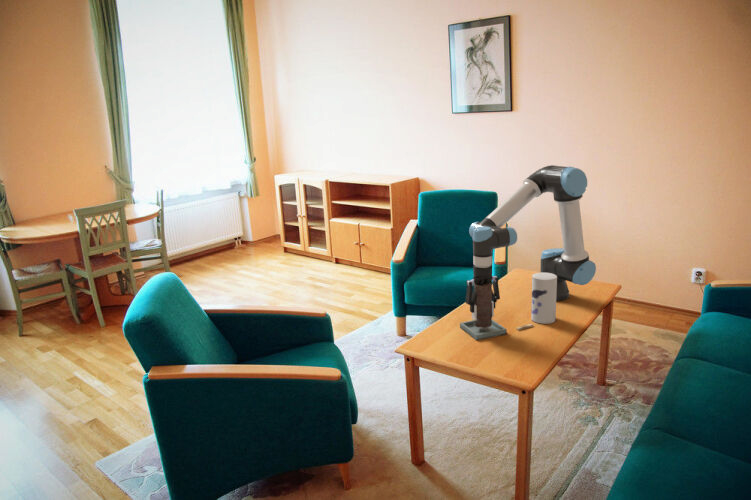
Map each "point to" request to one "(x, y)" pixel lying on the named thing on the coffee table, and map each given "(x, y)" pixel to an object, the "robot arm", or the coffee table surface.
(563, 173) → the robot arm
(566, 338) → the coffee table surface
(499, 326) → the dish
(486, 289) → the dark brown cylinder
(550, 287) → the container
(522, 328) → the beige wooden bar
